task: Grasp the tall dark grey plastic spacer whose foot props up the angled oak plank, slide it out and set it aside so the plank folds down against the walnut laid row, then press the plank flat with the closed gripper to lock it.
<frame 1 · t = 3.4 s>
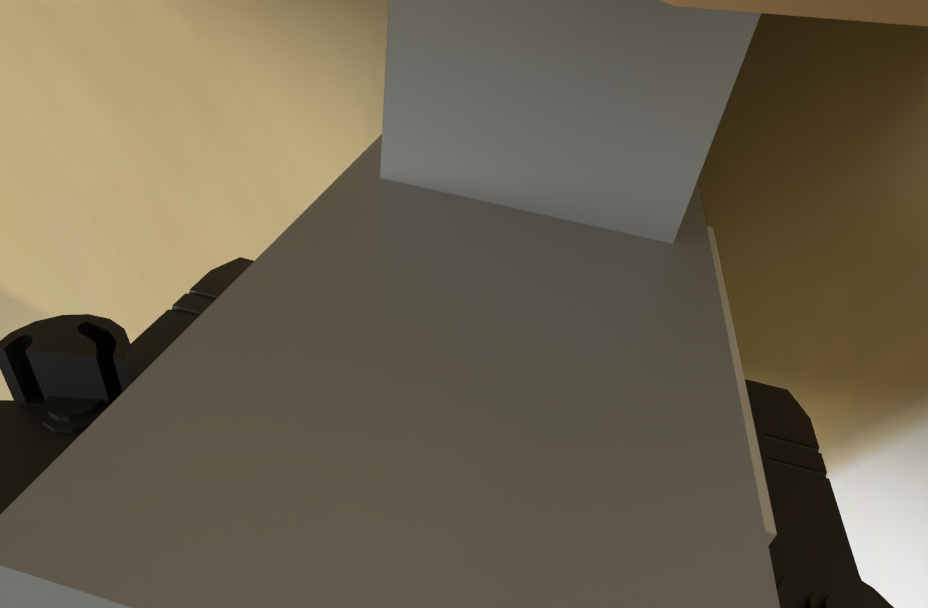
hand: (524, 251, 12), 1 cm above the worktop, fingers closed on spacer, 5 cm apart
spacer: (529, 233, 13), on the worktop, touching gripper
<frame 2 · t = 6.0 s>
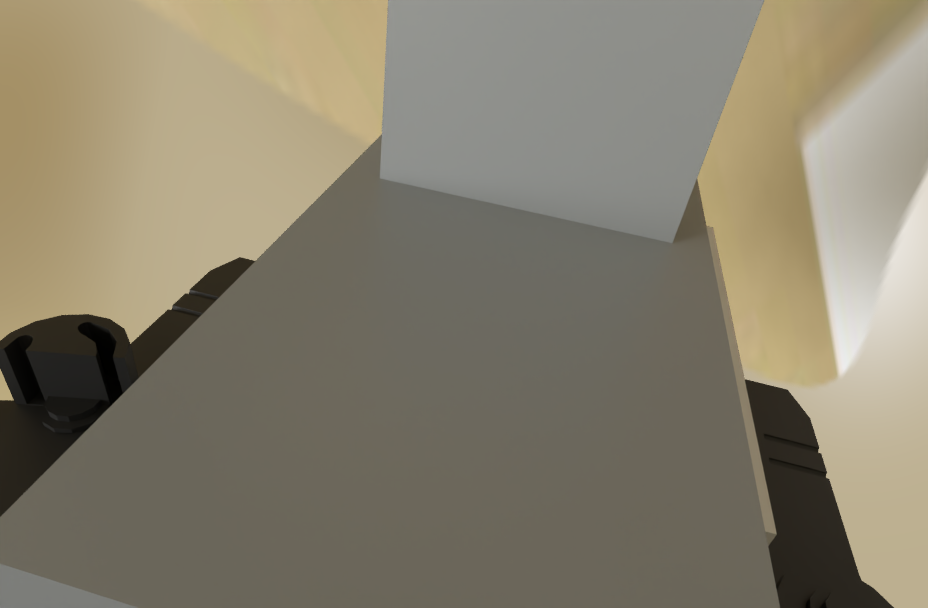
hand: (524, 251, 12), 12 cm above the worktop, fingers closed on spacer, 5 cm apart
spacer: (529, 233, 13), point 12 cm above the worktop, touching gripper
when the fingers open (2 cm above the worktop, at t = 8.5 s): spacer drops 2 cm, on the worktop.
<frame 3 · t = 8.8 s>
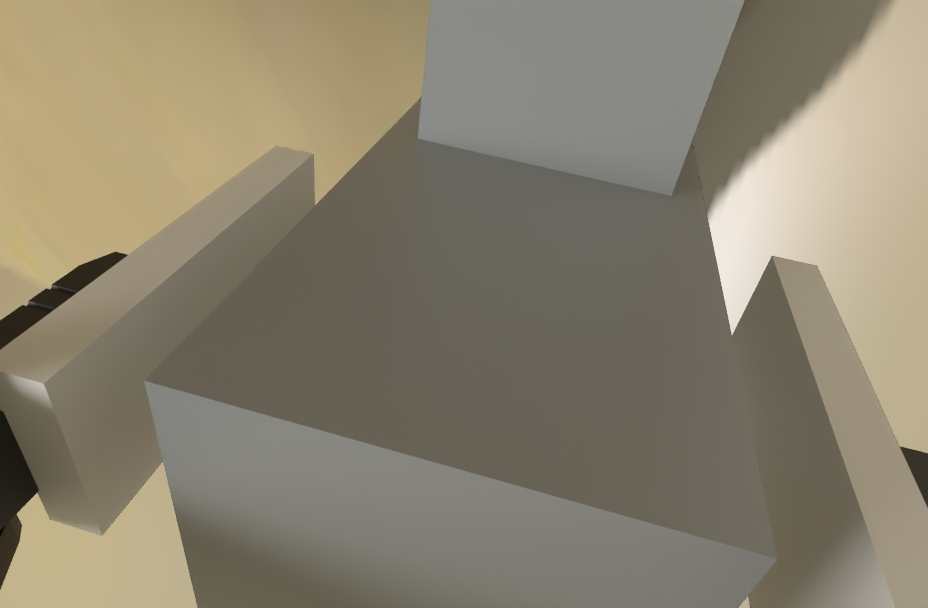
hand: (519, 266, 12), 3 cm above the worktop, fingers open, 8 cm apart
spacer: (540, 201, 14), on the worktop
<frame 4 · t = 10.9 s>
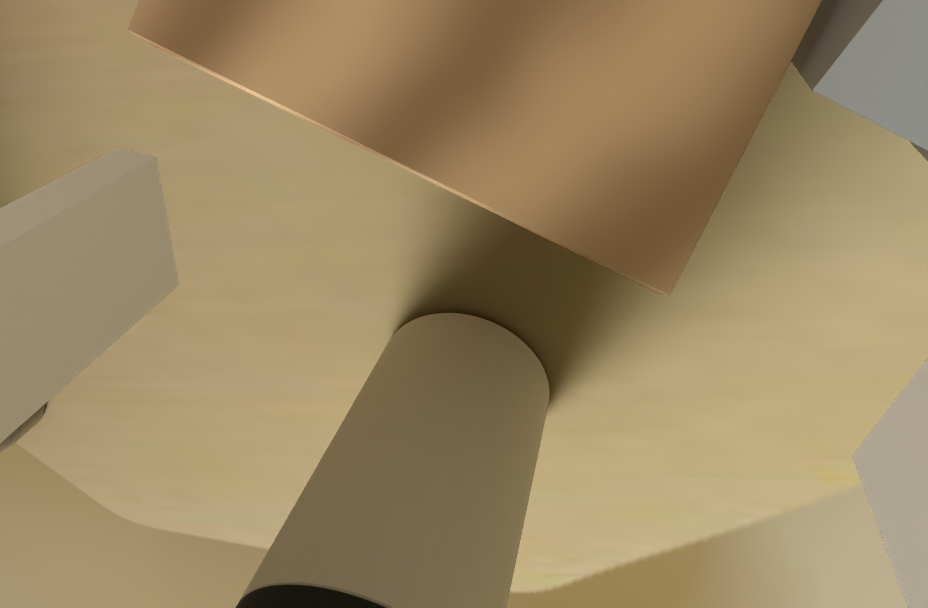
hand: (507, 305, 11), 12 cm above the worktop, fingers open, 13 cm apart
plank: (477, 9, 17), point 3 cm above the worktop, hinge at 33.0°
travel mug: (466, 375, 29), on the worktop
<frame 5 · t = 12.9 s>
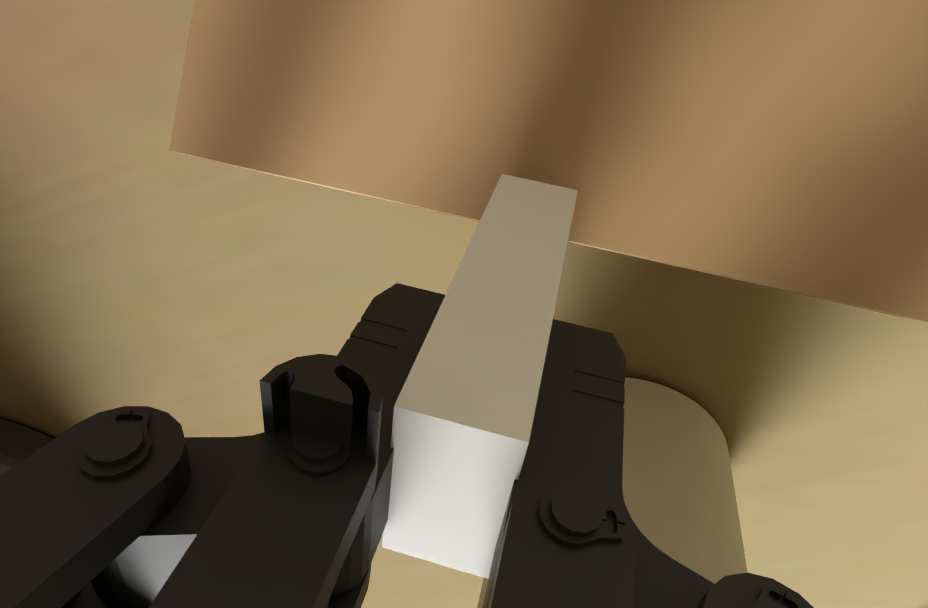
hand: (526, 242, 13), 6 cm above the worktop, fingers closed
plank: (578, 11, 13), point 3 cm above the worktop, hinge at 30.6°, touching gripper
travel mug: (617, 444, 24), on the worktop
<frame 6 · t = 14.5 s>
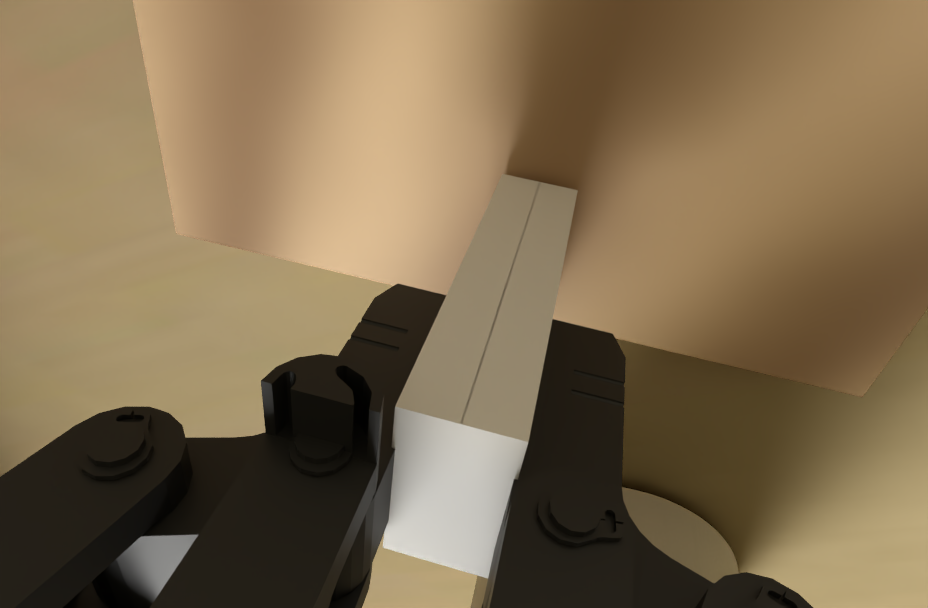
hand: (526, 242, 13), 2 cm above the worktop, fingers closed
plank: (542, 100, 12), point 1 cm above the worktop, hinge at -0.6°, touching gripper
travel mug: (606, 550, 20), on the worktop
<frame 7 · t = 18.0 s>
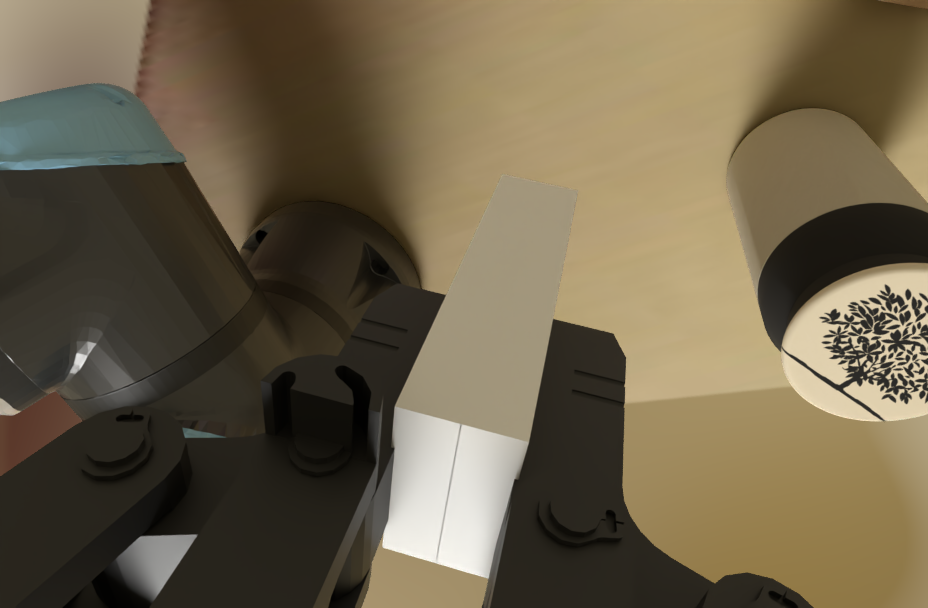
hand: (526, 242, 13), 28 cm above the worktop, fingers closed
travel mug: (794, 170, 38), on the worktop
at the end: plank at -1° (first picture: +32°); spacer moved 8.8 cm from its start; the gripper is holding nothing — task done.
